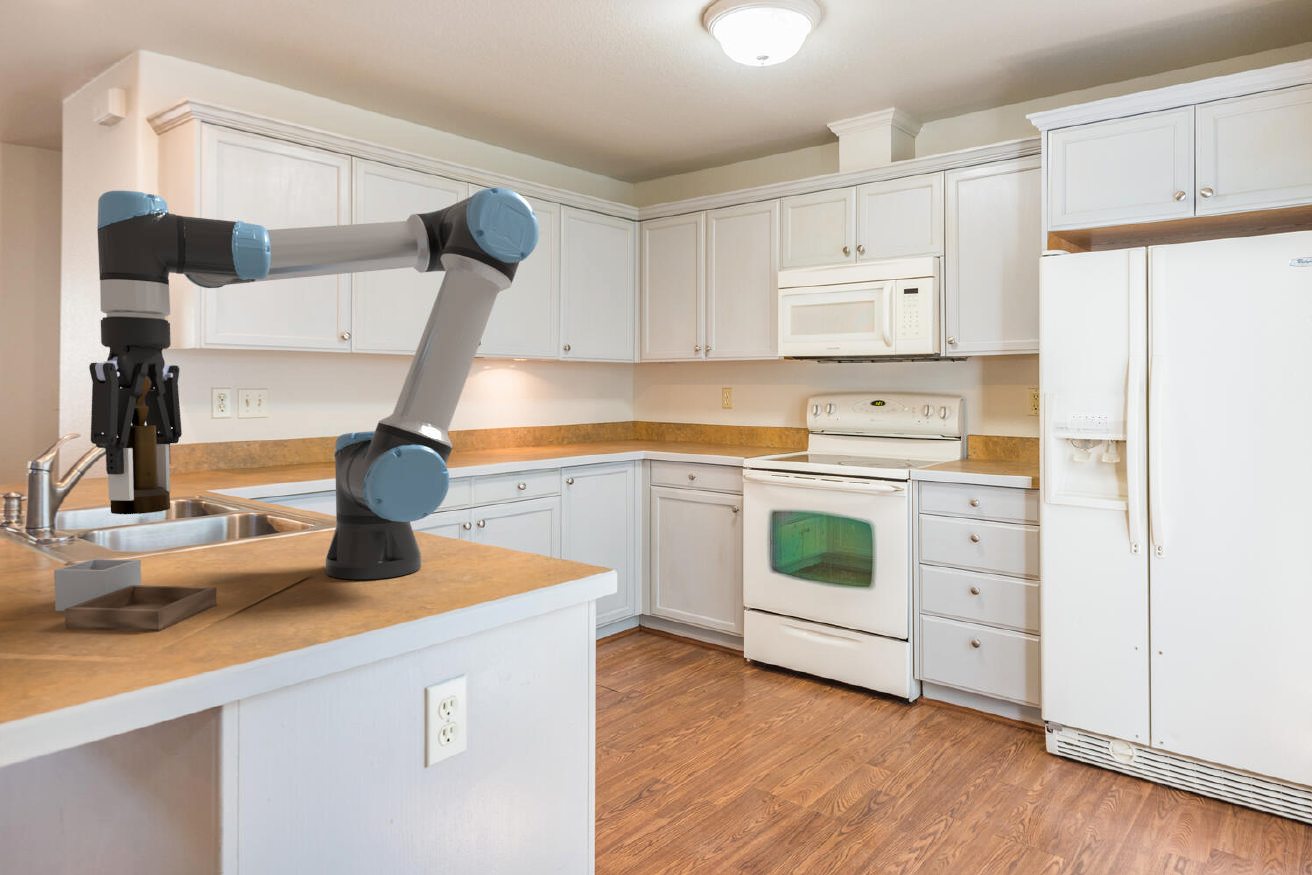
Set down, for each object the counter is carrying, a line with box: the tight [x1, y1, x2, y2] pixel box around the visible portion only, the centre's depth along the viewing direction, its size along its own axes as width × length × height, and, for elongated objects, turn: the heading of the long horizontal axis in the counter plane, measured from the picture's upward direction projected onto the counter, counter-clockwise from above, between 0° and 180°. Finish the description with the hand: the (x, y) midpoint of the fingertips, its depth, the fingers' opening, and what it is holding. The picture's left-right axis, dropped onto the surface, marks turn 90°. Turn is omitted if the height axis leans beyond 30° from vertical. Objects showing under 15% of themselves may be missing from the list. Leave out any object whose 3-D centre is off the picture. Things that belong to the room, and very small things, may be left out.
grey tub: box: [53, 558, 142, 612], centre depth 112 cm, size 7×7×6 cm
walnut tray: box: [64, 584, 218, 633], centre depth 107 cm, size 12×12×3 cm
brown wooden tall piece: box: [109, 376, 171, 515], centre depth 106 cm, size 7×6×18 cm
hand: (140, 495), depth 106 cm, fingers closed on brown wooden tall piece, 6 cm apart
